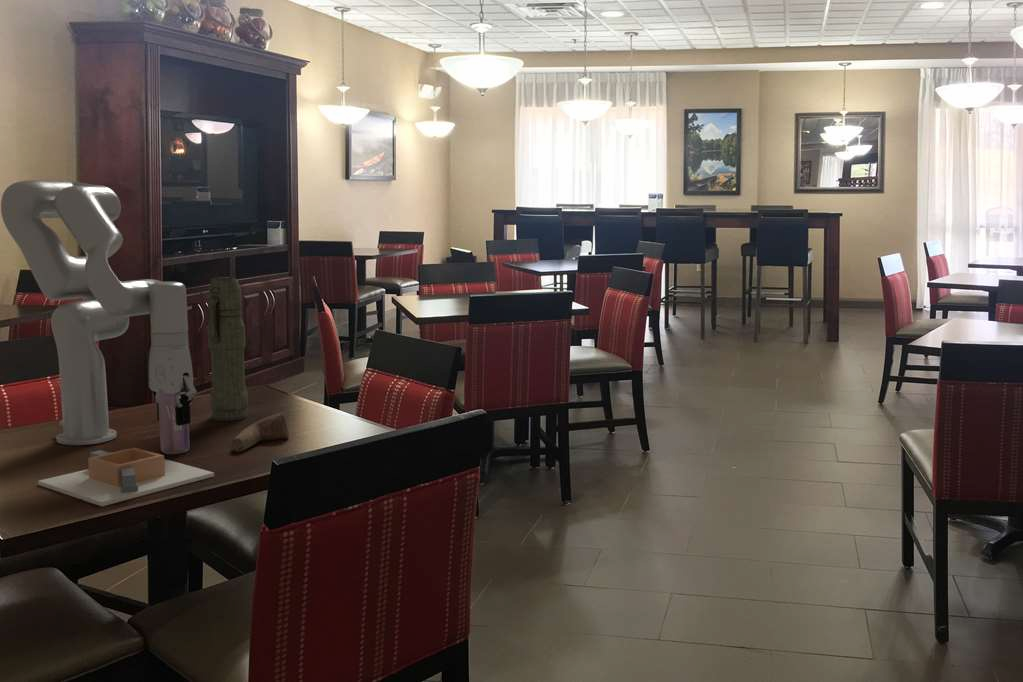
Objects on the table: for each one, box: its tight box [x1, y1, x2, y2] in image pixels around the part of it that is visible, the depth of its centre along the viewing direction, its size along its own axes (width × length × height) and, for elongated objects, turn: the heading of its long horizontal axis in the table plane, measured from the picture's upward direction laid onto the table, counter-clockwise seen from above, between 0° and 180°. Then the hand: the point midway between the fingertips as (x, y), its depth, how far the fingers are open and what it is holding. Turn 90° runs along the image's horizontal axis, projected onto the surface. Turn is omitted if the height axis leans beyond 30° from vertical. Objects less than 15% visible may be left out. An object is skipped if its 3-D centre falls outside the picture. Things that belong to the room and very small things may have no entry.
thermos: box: [207, 276, 249, 422], centre depth 247 cm, size 9×12×35 cm
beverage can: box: [158, 389, 191, 455], centre depth 215 cm, size 6×6×15 cm
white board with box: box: [37, 447, 215, 507], centre depth 194 cm, size 22×24×5 cm
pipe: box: [230, 411, 290, 453], centre depth 223 cm, size 6×17×10 cm
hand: (174, 421), depth 216 cm, fingers closed on beverage can, 6 cm apart
